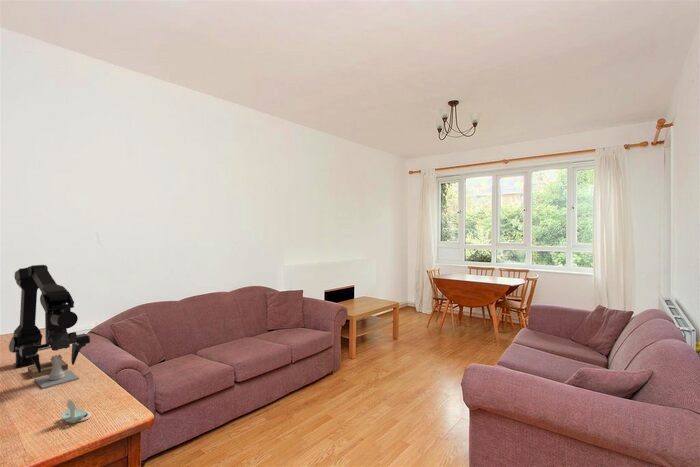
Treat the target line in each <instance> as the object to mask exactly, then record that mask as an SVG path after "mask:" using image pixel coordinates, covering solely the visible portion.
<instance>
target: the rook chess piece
mask: <svg viewBox="0 0 700 467" xmlns="http://www.w3.org/2000/svg"><path fill="white" fill-rule="evenodd" d="M61 359H62V360H63V356H62V354H54V355H52V356H51V359H50V361H52V371H51V372H50V374H48V376H49V377H50V378H49V380H58V379H61V378H63V377H64V376H65V375H64V371H65V370H64V371H63V370H62V367H61Z"/></svg>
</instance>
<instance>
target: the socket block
mask: <svg viewBox="0 0 700 467" xmlns="http://www.w3.org/2000/svg"><path fill="white" fill-rule="evenodd" d="M40 367H41V373H39V372H38V370H37V368H36V366H35V364H32V365H28V366H27V373H28V375H30V376H31V378H32V379H37V378H41V377H45V376H49V375H50V372H51V371H52V361H51V360H50V361H46V362H43V363H42V362H41V363H40ZM61 367H62V370H63V371H68V370H69V365H68V363H67V362H66V361H64V360H63V358H62V359H61Z"/></svg>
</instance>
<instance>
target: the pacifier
mask: <svg viewBox="0 0 700 467" xmlns="http://www.w3.org/2000/svg"><path fill="white" fill-rule="evenodd" d="M66 406H67V409H65V410H64V411H63V412H62V414H61V418H62V419H63V421H65V423H70V424H74V423H75V424H76V423H77V422H85V421H87V420H88V419H90V418H91V416H92V413H91V412H90V411H87V410H86V411H85V410H84V409H82V408H79V407H77V406H76V403H75V400H73V398H69V399H68V401H67V402H66Z"/></svg>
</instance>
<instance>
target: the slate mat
mask: <svg viewBox="0 0 700 467" xmlns="http://www.w3.org/2000/svg"><path fill="white" fill-rule="evenodd" d="M64 375H65V376H64V377H63V378H61V379H58V380H49V378H50V377H49V375H44V376H40V377H36V378H34V381H35V382H36V384H37V385H38V386H39V387H40V389H41V390H44V389H49V388H52V387H54V386H55V387H56V386H58V385H62V384H66V383H69V382H73V381H74V382H75V381H77V380H80V377H79V376H78V375H77V374H75V373H74V372H73V371H72V370H71V369H68V370H64Z"/></svg>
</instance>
